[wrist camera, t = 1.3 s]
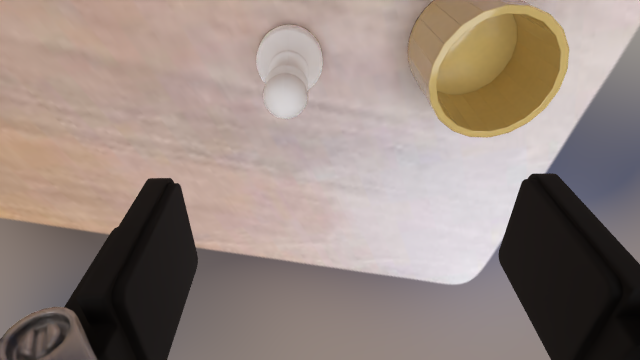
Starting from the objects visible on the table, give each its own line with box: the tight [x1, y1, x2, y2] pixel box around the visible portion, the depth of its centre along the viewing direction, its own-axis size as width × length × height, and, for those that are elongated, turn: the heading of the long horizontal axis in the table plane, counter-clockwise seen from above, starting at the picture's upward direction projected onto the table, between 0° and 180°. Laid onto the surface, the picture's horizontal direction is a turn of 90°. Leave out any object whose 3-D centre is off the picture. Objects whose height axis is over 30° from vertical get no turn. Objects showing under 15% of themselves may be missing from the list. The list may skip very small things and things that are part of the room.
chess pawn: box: [256, 24, 323, 119], centre depth 28 cm, size 5×5×9 cm
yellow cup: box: [408, 0, 569, 137], centre depth 28 cm, size 9×9×7 cm
